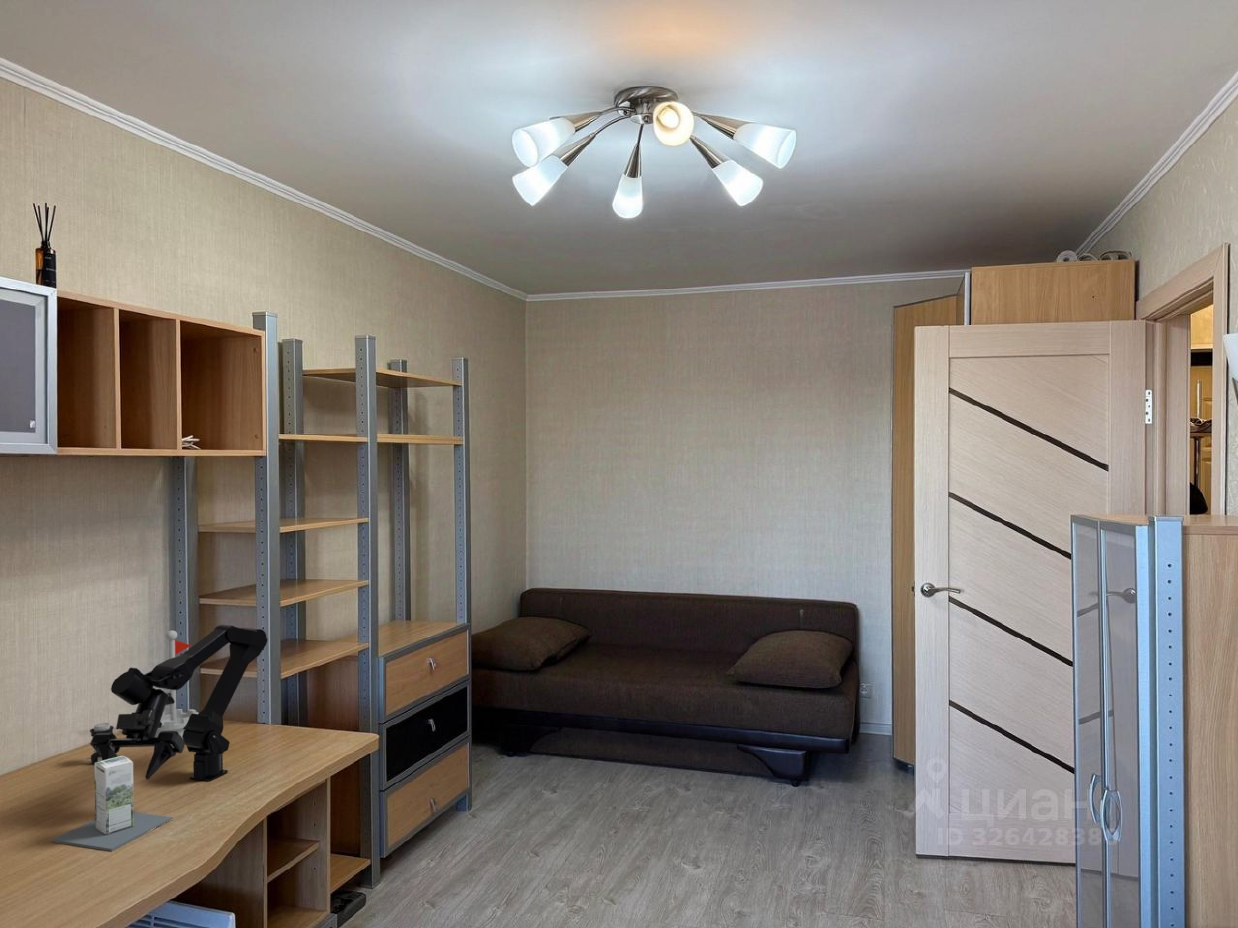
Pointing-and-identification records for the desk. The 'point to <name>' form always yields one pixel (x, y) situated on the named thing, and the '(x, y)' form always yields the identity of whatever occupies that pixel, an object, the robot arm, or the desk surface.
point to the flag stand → (176, 717)
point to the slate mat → (110, 842)
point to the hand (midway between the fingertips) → (125, 779)
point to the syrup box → (114, 794)
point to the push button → (97, 729)
